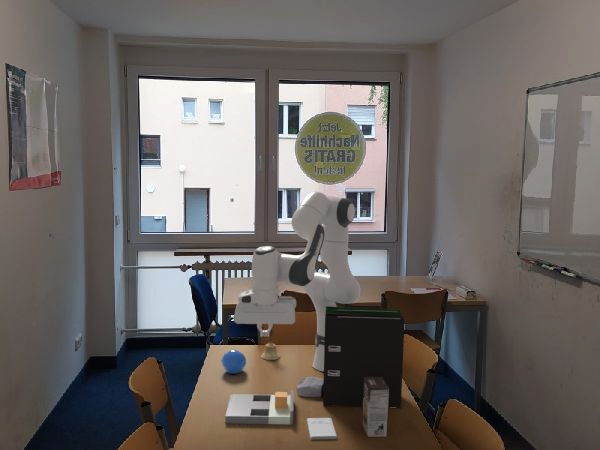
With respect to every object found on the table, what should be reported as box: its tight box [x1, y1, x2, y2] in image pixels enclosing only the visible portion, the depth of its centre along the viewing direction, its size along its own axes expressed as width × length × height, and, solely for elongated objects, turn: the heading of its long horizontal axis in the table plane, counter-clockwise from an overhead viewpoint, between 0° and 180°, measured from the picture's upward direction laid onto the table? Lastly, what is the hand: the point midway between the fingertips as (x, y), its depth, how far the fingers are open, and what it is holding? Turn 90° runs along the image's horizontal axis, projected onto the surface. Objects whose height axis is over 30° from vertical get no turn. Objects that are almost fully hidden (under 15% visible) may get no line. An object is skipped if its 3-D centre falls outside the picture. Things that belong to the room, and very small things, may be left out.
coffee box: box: [362, 377, 389, 438], centre depth 179 cm, size 9×6×16 cm
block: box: [274, 391, 288, 408], centre depth 191 cm, size 4×4×4 cm
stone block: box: [296, 376, 324, 398], centre depth 210 cm, size 12×5×10 cm
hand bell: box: [260, 324, 281, 361], centre depth 243 cm, size 8×8×16 cm
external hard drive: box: [306, 417, 338, 441], centre depth 180 cm, size 2×8×12 cm
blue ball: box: [221, 350, 247, 375], centre depth 226 cm, size 10×12×10 cm
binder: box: [322, 306, 406, 409], centre depth 201 cm, size 27×15×32 cm, turn 87°
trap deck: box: [224, 389, 294, 425], centre depth 191 cm, size 22×17×4 cm
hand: (264, 336), depth 188 cm, fingers closed
